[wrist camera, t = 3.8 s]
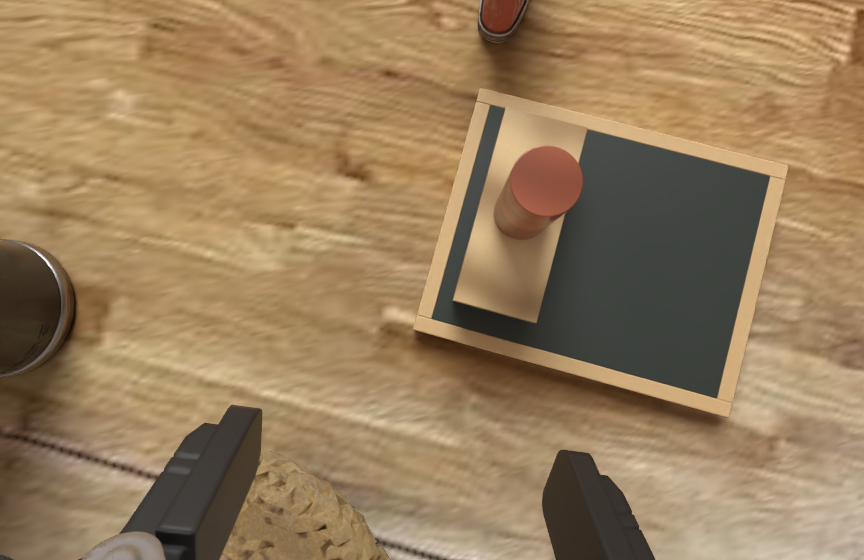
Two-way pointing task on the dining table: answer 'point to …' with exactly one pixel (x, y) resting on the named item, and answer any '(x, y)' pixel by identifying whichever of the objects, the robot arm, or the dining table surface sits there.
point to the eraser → (521, 214)
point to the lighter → (500, 18)
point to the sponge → (297, 519)
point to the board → (625, 261)
